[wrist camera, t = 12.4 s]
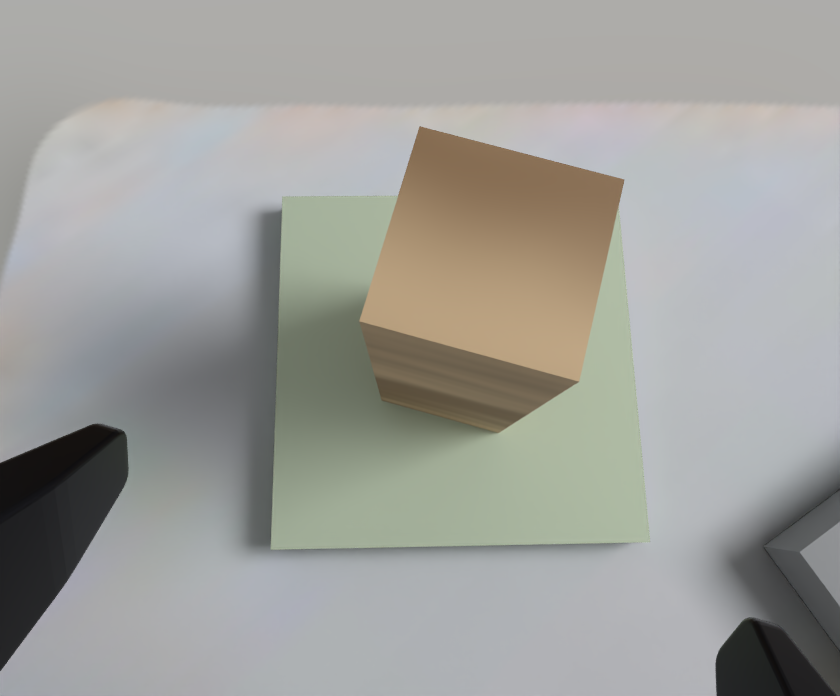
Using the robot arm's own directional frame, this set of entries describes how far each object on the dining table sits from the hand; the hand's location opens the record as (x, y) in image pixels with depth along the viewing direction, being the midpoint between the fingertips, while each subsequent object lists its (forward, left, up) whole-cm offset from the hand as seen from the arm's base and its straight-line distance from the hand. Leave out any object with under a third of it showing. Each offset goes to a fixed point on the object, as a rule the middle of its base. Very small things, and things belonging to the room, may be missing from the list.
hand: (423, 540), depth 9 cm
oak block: (+4, +3, -12) cm, 13 cm away
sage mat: (+4, +3, -13) cm, 14 cm away
